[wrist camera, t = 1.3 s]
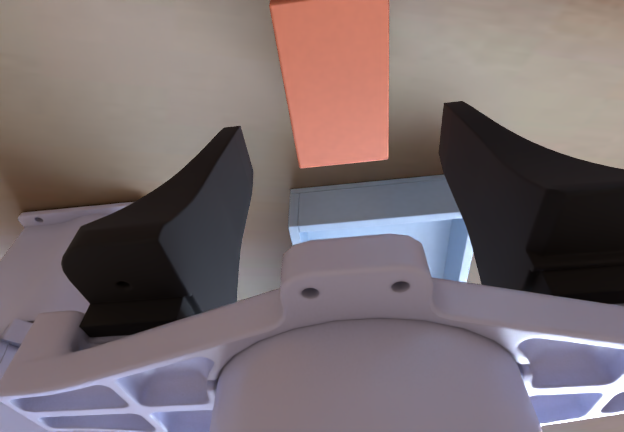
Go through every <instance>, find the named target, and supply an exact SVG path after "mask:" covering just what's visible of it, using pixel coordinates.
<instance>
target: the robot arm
mask: <svg viewBox="0 0 624 432" xmlns="http://www.w3.org/2000/svg"><path fill="white" fill-rule="evenodd" d="M439 156H440V160H441V164H442V168H443V172H444V175H445V178H446V180H447V183H448V185H449V188H450V190H451V192H452V195H453V197H454V199H455V202H456V204H457V206H458V209H459V211H460V213H461V216H462V218H463V220H464V223H465V226H466V228H467V231H468V235H469V238H470V242H471V245H472V249H473V252H474V256H475V260H476V264H477V268H478V272H479V275H480V280H481V284H482V285H480V284H473V283H467V282H460V281H453V280H447V279H440V278H434V277H431V274H430V270H429V266H428V263H427V259H426V255H425V252H424V249H423V246H422V243H420V242H419V241H417V240H415V239H414V238H412V237H411V236H409V235H400V234H378V235H366V236H354V237H342V238H330V239H318V240H310V241H306V242H303V243H299V244H295V245H293V246H292V247H291V248H290V249H289V250H288V251H287V252H285V253H284V254H283V260H282V269H281V282H280V288H279V289H276V290H272V291H269V292H266V293H263V294H260V295H257V296H253V297H250V298H247V299H244V300H241V301H237V286H238V271H239V260H240V249H241V243H242V238H243V233H244V229H245V224H246V219H247V215H248V210H249V206H250V201H251V196H252V187H253V168H252V165H251V161H250V158H249V154H248V151H247V147H246V144H245V140H244V137H243V133H242V130H241V126H235V127H226V128H223V129H222V130H221V131H220V132H219V133H218V134H217V135H216V136H215V137H214V138H213V139H212V140H211V141H210V142H209V143H208V144H207V145H206V147H205V148H204V149H203V150H202V151H201V152H200V153H199V154H198V155H197V156H196V157H195V158H194V159H192V160H191V161H190V162H189V163H188V164H187V165H186V166H185V167H184V168H183V169H182V170H181V171H179V172H178V173H177V174H176V175H175V176H173V177H172V178H171V179H169V180H168V181H167V182H165V183H164V184H163V185H161V186H160V187H158V188H157V189H155V190H154V191H152V192H151V193H149V194H147V195H146V196H144V197H142V198H141V199H139V200H138V201H136V202H126V203H116V204H106V205H96V206H85V207H75V208H65V209H55V210H44V211H34V212H24V213H21V214H20V215H19V217H18V220H19V222H20V223H21V224H22V225H23V226H24V229H23V231H22V232H21V233H20V235H19V236H18V237H17V239H16V240H15V241H14V243H13V244H12V246H11V247H10V248H9V250H8V251H7V252H6V254H5V255H4V256H3V258H2V259H1V260H0V432H543V431H542V428H541V426H543V425H549V424H556V423H563V422H569V421H576V420H582V419H589V418H596V417H602V416H609V415H616V414H622V413H624V169H619V168H613V167H609V166H604V165H600V164H596V163H591V162H588V161H584V160H580V159H577V158H573V157H570V156H567V155H564V154H561V153H558V152H555V151H553V150H550V149H547V148H545V147H543V146H540V145H538V144H536V143H533V142H531V141H529V140H527V139H525V138H523V137H521V136H519V135H517V134H515V133H513V132H511V131H510V130H508V129H506V128H504V127H503V126H501V125H499V124H498V123H496V122H494V121H493V120H491V119H490V118H488V117H487V116H485V115H484V114H482V113H481V112H479V111H478V110H476V109H474V108H473V107H471V106H470V105H468V104H467V103H465V102H463V101H459V102H450V103H444V108H443V117H442V126H441V136H440V145H439Z"/></svg>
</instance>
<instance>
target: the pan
mask: <svg viewBox="0 0 624 432" xmlns="http://www.w3.org/2000/svg"><path fill="white" fill-rule="evenodd" d="M288 229H289V233H290V237H291V241H292V245H295V244H299V243H303V242H306V241H310V240H318V239H330V238H342V237H354V236H366V235H378V234H400V235H409V236H411V237H412V238H414V239H415V240H417V241H419V242H420V243H422V246H423V249H424V252H425V255H426V259H427V263H428V266H429V270H430V274H431V277H434V278H440V279H447V280H453V281H460V282H467V277H468V273H469V269H470V264H471V260H472V255H473V249H472V245H471V242H470V238H469V235H468V231H467V228H466V226H465V223H464V220H463V218H462V216H461V213H460V211H459V209H458V206H457V204H456V202H455V199H454V197H453V195H452V192H451V190H450V188H449V185H448V183H447V180H446V178H445V175H444V174H443V175H433V176H423V177H412V178H402V179H392V180H381V181H371V182H361V183H350V184H340V185H330V186H319V187H309V188H299V189H291V190H290V205H289V220H288Z"/></svg>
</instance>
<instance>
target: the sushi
mask: <svg viewBox="0 0 624 432" xmlns="http://www.w3.org/2000/svg"><path fill="white" fill-rule="evenodd" d="M269 7H270V12H271V18H272V23H273V29H274V34H275V39H276V45H277V50H278V56H279V61H280V66H281V72H282V77H283V82H284V88H285V93H286V99H287V104H288V109H289V115H290V120H291V126H292V131H293V136H294V142H295V147H296V152H297V158H298V163H299V167H300V168H309V167H319V166H329V165H339V164H349V163H359V162H369V161H379V160H387V159H388V158H389V0H271V1H270V5H269Z"/></svg>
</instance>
